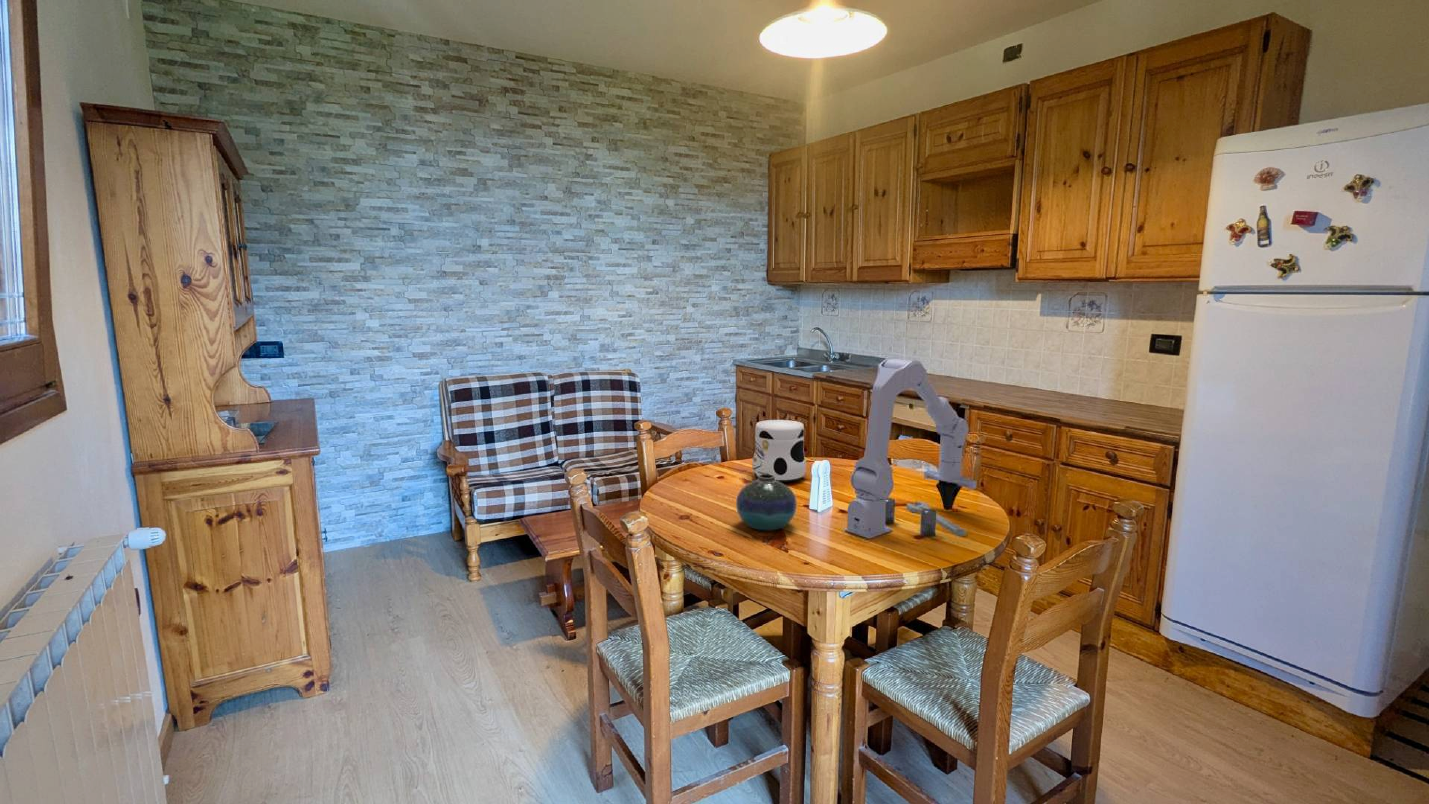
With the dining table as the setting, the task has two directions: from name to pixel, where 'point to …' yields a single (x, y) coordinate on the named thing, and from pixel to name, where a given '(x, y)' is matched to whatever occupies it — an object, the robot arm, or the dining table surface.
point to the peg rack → (926, 518)
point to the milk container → (779, 450)
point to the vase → (766, 504)
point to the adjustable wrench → (937, 518)
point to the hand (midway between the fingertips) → (947, 509)
